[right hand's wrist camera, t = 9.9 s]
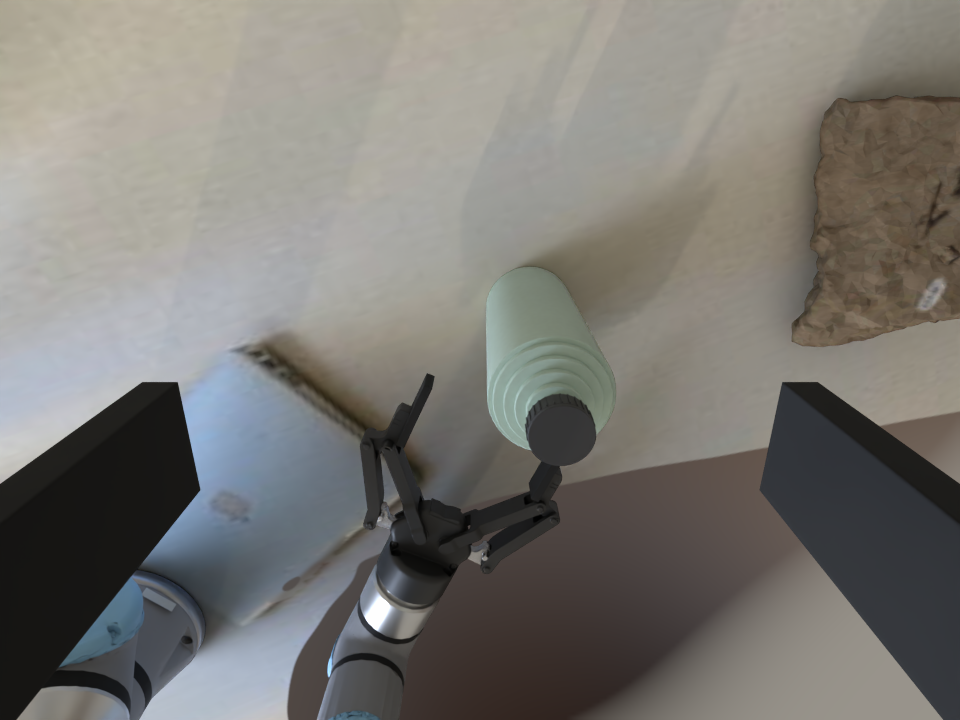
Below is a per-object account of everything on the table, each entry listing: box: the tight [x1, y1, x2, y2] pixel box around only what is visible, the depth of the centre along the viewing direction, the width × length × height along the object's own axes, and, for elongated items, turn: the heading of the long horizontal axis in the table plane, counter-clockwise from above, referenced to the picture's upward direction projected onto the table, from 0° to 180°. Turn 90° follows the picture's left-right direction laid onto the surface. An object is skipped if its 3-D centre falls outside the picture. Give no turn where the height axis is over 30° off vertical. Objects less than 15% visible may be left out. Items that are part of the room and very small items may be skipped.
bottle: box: [486, 267, 616, 450], centre depth 43 cm, size 8×8×25 cm
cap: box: [525, 393, 596, 466], centre depth 32 cm, size 4×4×2 cm
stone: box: [792, 96, 960, 347], centre depth 48 cm, size 21×15×6 cm
